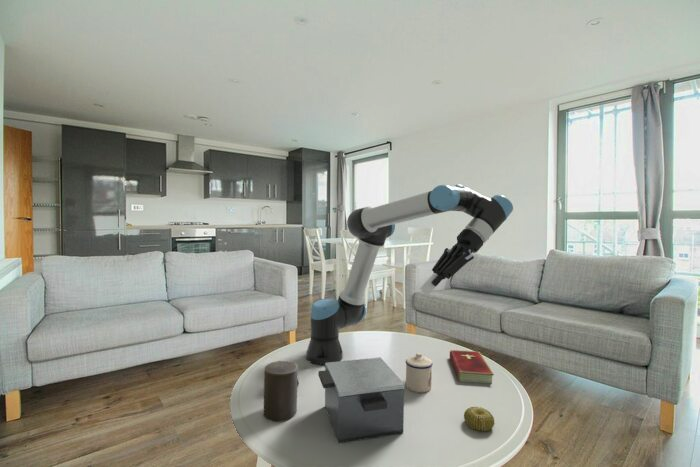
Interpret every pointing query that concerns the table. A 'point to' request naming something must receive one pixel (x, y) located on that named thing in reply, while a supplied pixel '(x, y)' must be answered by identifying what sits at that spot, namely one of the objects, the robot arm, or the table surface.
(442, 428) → the table surface
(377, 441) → the table surface
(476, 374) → the hardcover book
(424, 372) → the teacup with lid
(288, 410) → the pillar candle
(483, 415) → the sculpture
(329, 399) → the grey storage box
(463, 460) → the table surface
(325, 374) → the lid
